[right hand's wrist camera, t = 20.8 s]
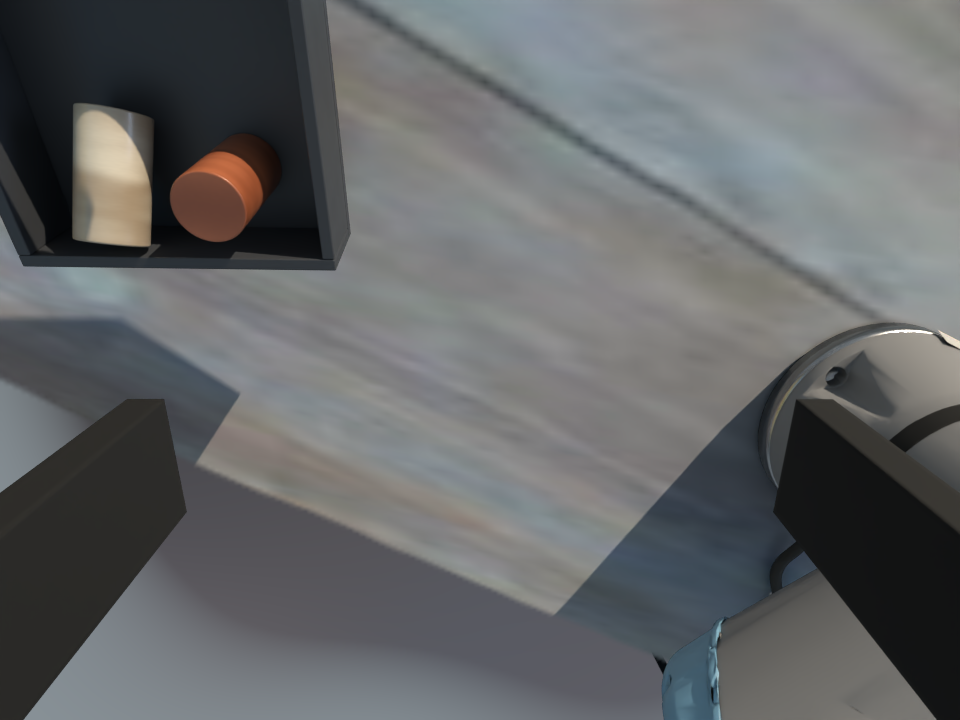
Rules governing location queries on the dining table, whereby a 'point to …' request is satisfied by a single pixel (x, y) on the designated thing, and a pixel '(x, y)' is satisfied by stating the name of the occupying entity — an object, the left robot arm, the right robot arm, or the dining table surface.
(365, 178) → the dining table surface
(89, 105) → the cream peg
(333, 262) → the tray
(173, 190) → the terracotta peg
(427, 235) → the dining table surface
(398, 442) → the dining table surface
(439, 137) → the dining table surface
